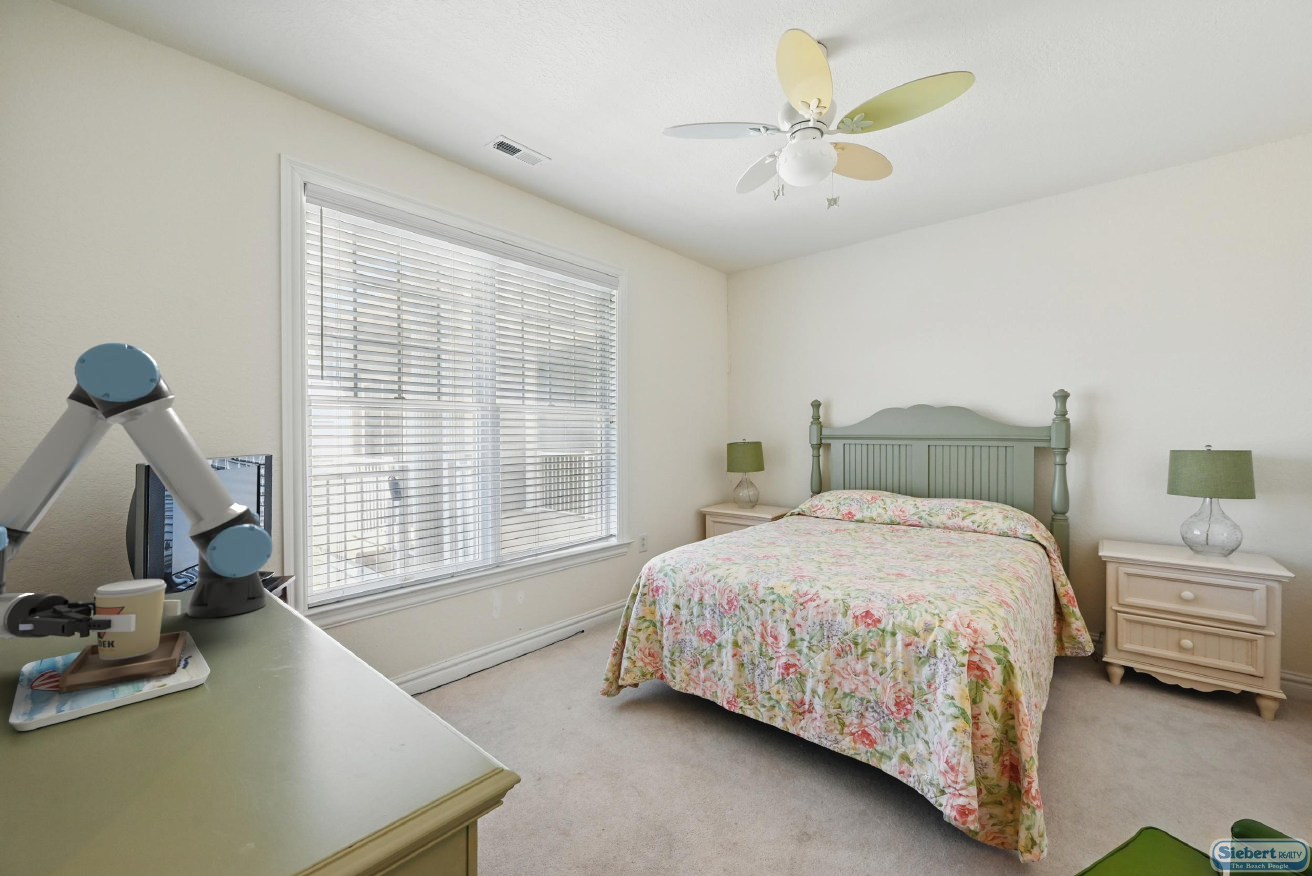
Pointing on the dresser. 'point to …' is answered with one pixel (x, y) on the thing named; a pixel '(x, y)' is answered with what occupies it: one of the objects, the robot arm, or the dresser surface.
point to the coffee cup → (131, 600)
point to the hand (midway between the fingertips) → (157, 615)
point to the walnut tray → (122, 665)
